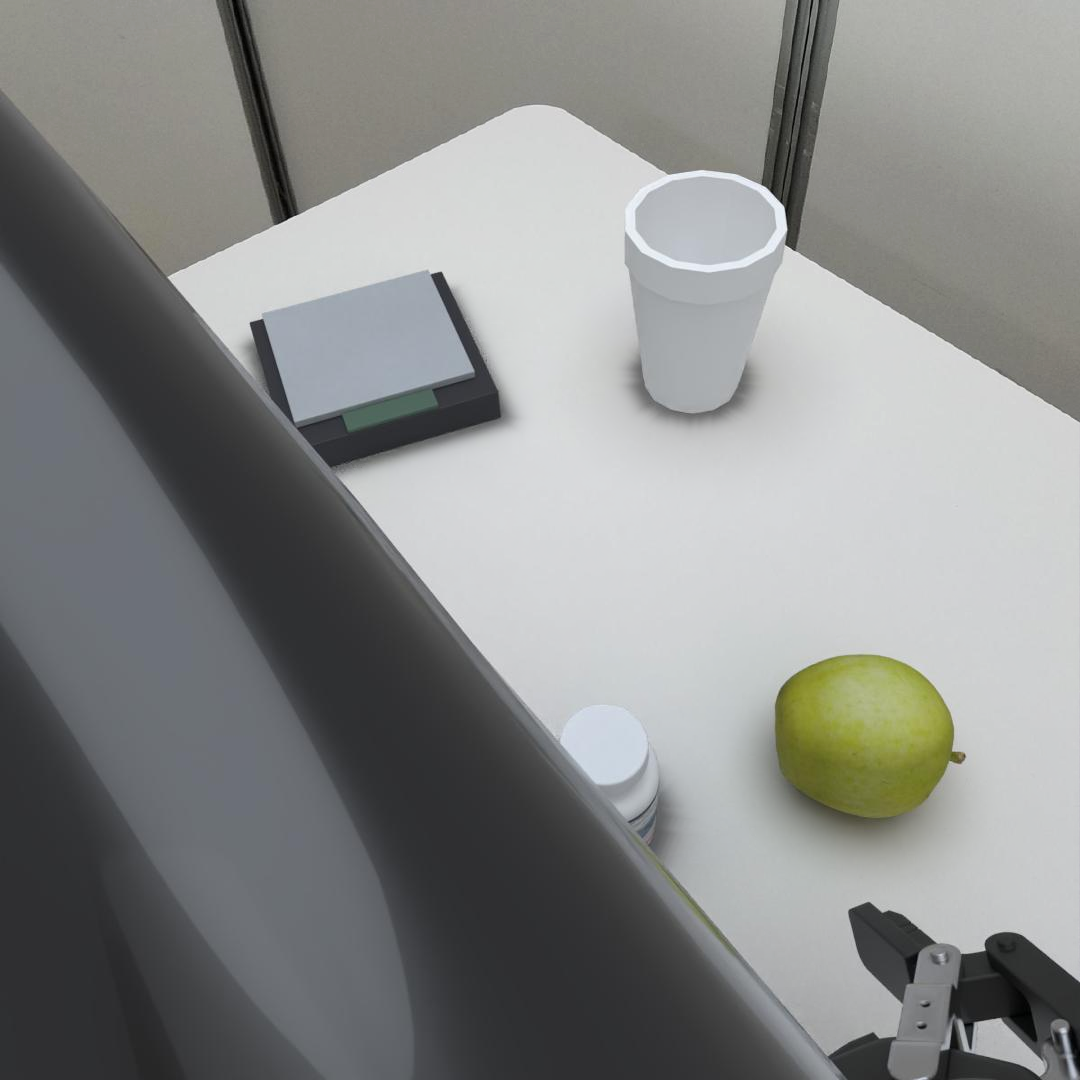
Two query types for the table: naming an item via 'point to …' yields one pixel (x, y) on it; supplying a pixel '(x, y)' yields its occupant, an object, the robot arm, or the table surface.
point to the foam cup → (700, 281)
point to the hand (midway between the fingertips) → (745, 975)
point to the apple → (863, 735)
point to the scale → (375, 367)
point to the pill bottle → (617, 761)
